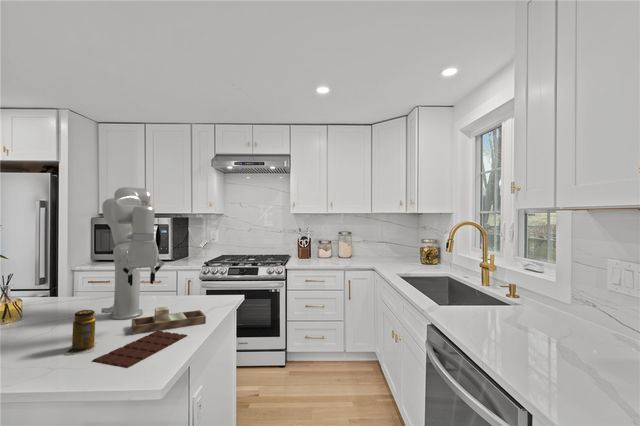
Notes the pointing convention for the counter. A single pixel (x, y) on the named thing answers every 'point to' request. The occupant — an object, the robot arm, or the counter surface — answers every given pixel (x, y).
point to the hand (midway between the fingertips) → (141, 283)
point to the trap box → (168, 322)
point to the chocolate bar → (139, 349)
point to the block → (161, 313)
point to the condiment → (83, 333)
